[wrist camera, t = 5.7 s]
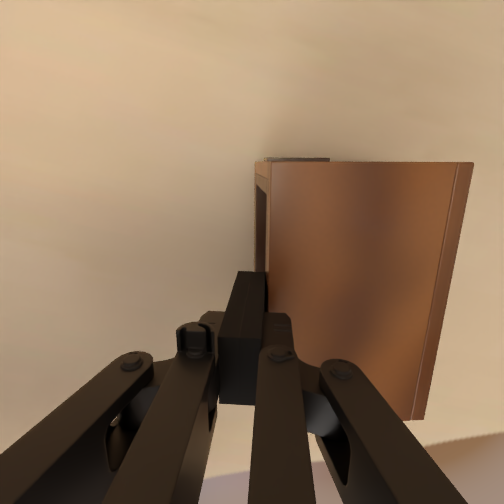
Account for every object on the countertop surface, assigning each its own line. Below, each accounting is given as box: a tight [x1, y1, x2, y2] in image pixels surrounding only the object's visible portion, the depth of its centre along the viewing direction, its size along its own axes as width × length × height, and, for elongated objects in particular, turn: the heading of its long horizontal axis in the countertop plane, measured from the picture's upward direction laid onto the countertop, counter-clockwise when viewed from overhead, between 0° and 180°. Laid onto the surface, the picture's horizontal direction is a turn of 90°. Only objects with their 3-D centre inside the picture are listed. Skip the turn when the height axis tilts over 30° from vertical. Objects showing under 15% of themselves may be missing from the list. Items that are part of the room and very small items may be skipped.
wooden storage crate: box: [254, 158, 474, 421], centre depth 21 cm, size 9×14×11 cm, turn 0°
